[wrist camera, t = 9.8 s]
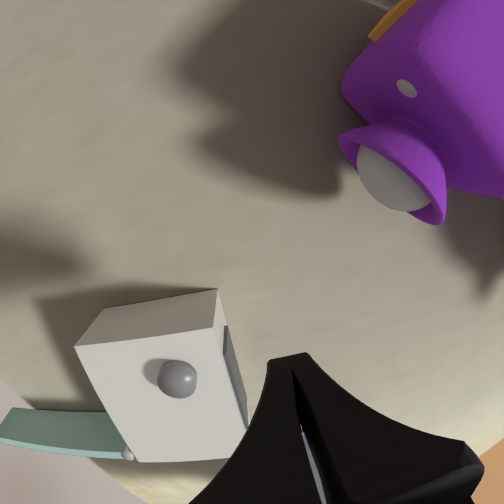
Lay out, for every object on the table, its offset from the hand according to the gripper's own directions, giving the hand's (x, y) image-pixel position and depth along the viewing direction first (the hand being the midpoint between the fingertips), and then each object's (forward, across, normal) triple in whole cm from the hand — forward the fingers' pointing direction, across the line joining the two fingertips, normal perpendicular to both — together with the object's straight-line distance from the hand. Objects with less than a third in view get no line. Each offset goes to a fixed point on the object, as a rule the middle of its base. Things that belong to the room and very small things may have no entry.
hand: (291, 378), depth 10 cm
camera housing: (+10, +7, +5) cm, 13 cm away
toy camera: (+10, -11, -9) cm, 17 cm away
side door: (+10, +19, +10) cm, 23 cm away
